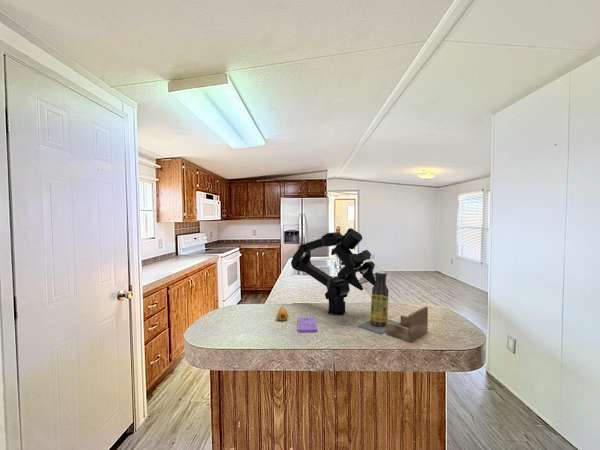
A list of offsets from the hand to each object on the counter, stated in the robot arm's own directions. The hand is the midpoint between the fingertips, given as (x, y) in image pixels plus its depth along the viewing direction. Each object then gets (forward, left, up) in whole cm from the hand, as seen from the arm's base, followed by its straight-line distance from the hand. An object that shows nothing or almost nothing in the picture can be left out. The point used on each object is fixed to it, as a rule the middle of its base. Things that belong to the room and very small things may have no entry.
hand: (369, 287), depth 117 cm
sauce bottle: (+4, -2, -13) cm, 14 cm away
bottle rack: (+12, -8, -14) cm, 20 cm away
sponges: (-23, -9, -14) cm, 28 cm away
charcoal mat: (+4, -3, -14) cm, 14 cm away
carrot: (-36, +3, -14) cm, 39 cm away
